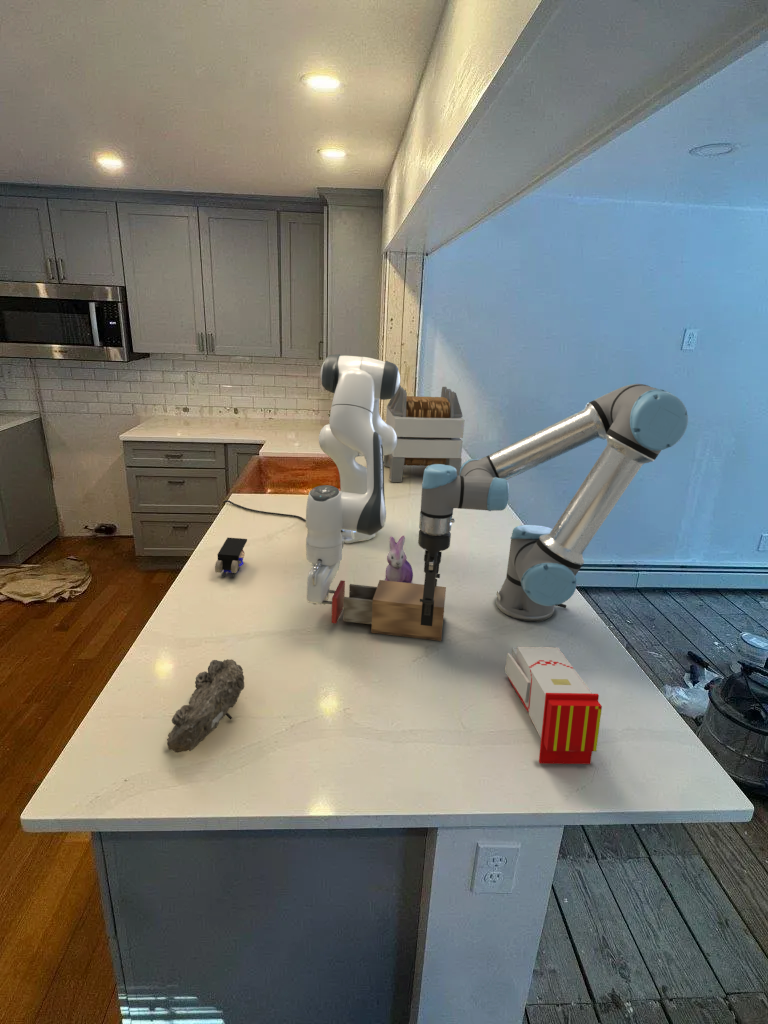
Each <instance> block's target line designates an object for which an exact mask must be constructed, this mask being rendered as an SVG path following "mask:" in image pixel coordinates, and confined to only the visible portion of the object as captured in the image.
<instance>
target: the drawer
mask: <svg viewBox="0 0 768 1024" xmlns="http://www.w3.org/2000/svg"><path fill="white" fill-rule="evenodd" d="M348 586H349V587H348V590H349V591H348V596H346V581H345V580H340V581H339V582H338V584H337V587H336V589H335V590H334V589H330V590H329V594H333V595H332V597H331V600H328V601H324V600H323V602H322V603H323V604H325V605H331V624H337V623H338V621H339V619H340V616H341V615H342V621H343V622H347V623H357V624H364V625H365V624H366V625H372V604H373V597H374V595H375V592H376V589H377V586H371V585H362V584H353V583H350V584H349V585H348ZM312 604H313V605H317V604H316V603H312ZM341 613H342V614H341Z"/></svg>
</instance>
